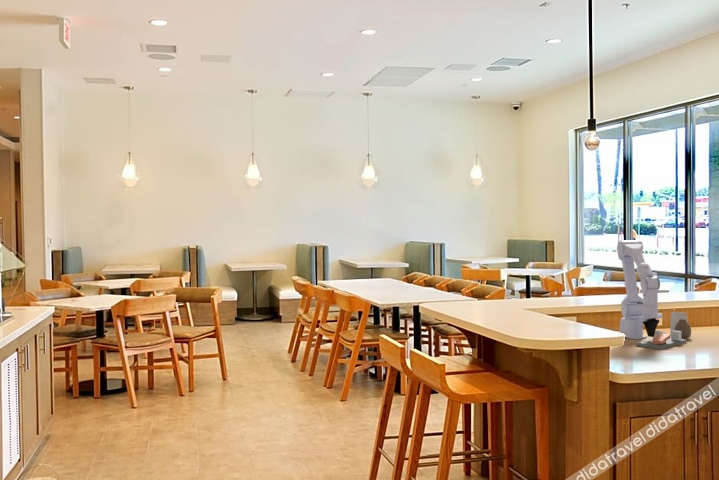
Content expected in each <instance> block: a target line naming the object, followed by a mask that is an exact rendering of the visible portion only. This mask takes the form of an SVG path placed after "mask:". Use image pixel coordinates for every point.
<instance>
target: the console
mask: <svg viewBox="0 0 719 480" xmlns="http://www.w3.org/2000/svg"><path fill="white" fill-rule="evenodd" d="M652 340H653V338H650V339H646V340H641V341H638V342H635V343H636V347H641V348H648V349H655V350H664V349H667V348H673V347H677V346H680V345H684V344H687V339H682V340H679V341H677V340H671V338H670V339H668V340H667V341H666V342H664V343H663V344H657V343H653V341H652Z"/></svg>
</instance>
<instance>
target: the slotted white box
mask: <svg viewBox="0 0 719 480" xmlns="http://www.w3.org/2000/svg"><path fill="white" fill-rule="evenodd" d="M670 337H671V340H677V341H679V340H682V336H681V331H676V330H673V331H671V333H670Z"/></svg>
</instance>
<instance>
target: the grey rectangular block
mask: <svg viewBox="0 0 719 480" xmlns="http://www.w3.org/2000/svg"><path fill="white" fill-rule="evenodd" d="M679 319H686V321H687V323H688V324H689V316H688V312H681V311H680V312H678V311H671V314H670V321H669V324H670V332H669V333H670V334H671V331H673V330H674V327H675V325H676V324H677V322H678V321H679Z"/></svg>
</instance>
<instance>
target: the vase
mask: <svg viewBox="0 0 719 480" xmlns="http://www.w3.org/2000/svg"><path fill="white" fill-rule="evenodd" d="M674 330H676V331H681V336H682V339H685V340H689V338H690V337H691V335H692V328H691V325H690V324H689V322H688V323H687V321H686V319H679V321H678V322H677V324H676V325H675V327H674Z"/></svg>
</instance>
